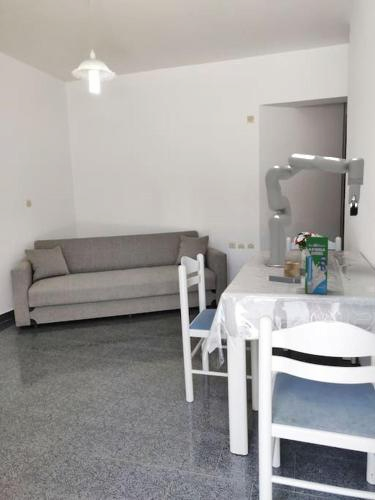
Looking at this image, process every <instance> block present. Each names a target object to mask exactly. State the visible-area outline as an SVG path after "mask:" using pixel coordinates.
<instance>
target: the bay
mask: <svg viewBox="0 0 375 500" xmlns="http://www.w3.org/2000/svg"><path fill="white" fill-rule="evenodd" d="M303 279H305V267H300V276H299V275H297V276H294V278H290V277H284V273H283V274H281V275H271V274H270V275H268V281H269V282H276V283H286V284H290V285H291V284H301V283H302V280H303Z"/></svg>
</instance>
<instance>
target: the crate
mask: <svg viewBox="0 0 375 500" xmlns="http://www.w3.org/2000/svg"><path fill="white" fill-rule="evenodd" d="M300 268H301V262H299V261H289V260H288V261H287V262H286V263H284V267H283V274H284V277H290V278H294V276H297V275H299V276H300Z"/></svg>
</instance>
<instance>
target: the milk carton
mask: <svg viewBox="0 0 375 500" xmlns="http://www.w3.org/2000/svg"><path fill="white" fill-rule="evenodd" d="M328 259H329V236H322V235H312V236H306V237H305V267H304V268H305V277H304V282H305V283H304V294H313V295H314V294H315V295H327V294H328V268H329V267H328V263H329V262H328V261H329V260H328Z"/></svg>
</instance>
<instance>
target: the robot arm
mask: <svg viewBox="0 0 375 500" xmlns="http://www.w3.org/2000/svg"><path fill="white" fill-rule="evenodd" d="M302 170H306V171H313V172H316V171H317V172H319V171H320V172H326V173H333V174H347V186H349V187H348V202H347V204H348V205H350V208H349V209H350V210H349V216H350V217H357V216H358V213H359V203H360V197H361V186H364V175H365V174H364V172H365V159H364V158H362V157H353V158H349V159H345V158H339V157H331V156H322V155H318V154H310V153H301V152H297V153H296V152H294V153H291V154H290V155H289V156H288V158H287V163H286V164H285V165H282V164H275V165H273V166H271V167H270V168H269V169H268V170H267V171H266V173H265V177H264V182H265V188H266V196H267V204H268V209H269V210H270V211H272V212H276V213H273V214H272V215H271V216H270V217H269V218H268V223H267V225H268V231H269V257H264V258H263V262H266V266H268V267H270V268H284V263H287V262H286V259H287V257H286V256H287V255H286V253H287V252H286V251H287V250H286V248H287V245H286V244H287V241H286V240H287V234H286V229H287V228H289V227H291V225H292V221H293V215H292V207H291V201H290V200H289V198H288V197H287V196H285V195H284V194H283V195H282V187H281V184H280V180H281V181H286V180H290V179H291V178H293V177H294V176H295V175H297V174H298V173H300V172H302Z"/></svg>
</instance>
